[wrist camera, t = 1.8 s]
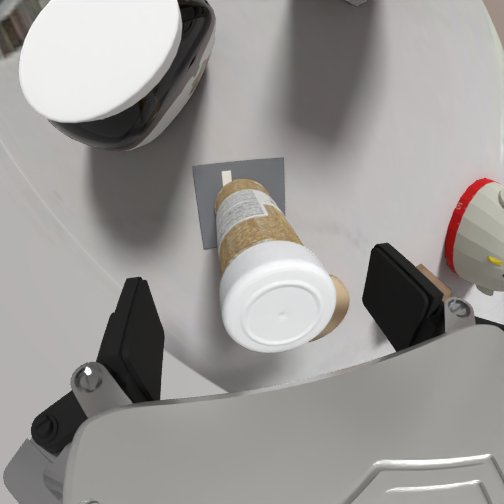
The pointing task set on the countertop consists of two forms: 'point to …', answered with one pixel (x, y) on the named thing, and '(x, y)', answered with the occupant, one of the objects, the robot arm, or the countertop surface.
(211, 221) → the card
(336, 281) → the coaster
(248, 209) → the sprinkles bottle
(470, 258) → the kitchen timer
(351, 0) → the coffee box
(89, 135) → the spread jar
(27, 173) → the countertop surface
